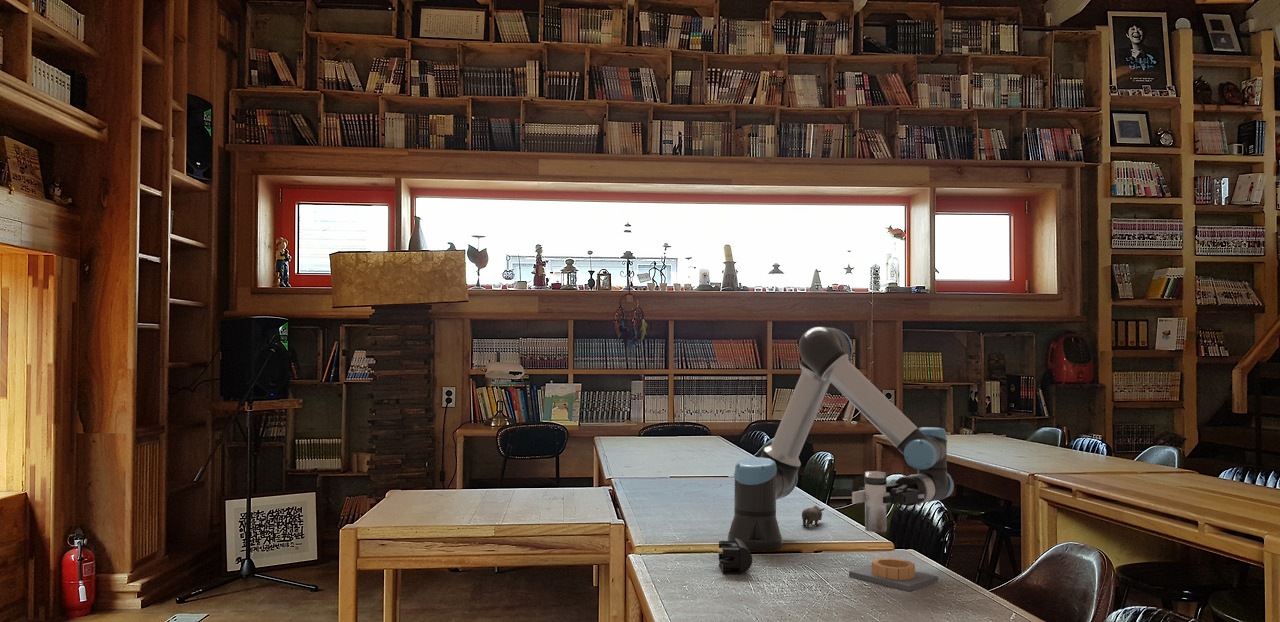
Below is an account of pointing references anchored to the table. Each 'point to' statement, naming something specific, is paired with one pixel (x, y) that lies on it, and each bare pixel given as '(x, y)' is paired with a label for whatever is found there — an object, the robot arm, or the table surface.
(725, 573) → the end cap
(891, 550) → the table surface
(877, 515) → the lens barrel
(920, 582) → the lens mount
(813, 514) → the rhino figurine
